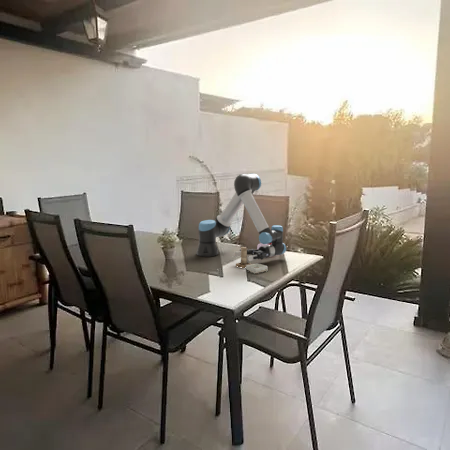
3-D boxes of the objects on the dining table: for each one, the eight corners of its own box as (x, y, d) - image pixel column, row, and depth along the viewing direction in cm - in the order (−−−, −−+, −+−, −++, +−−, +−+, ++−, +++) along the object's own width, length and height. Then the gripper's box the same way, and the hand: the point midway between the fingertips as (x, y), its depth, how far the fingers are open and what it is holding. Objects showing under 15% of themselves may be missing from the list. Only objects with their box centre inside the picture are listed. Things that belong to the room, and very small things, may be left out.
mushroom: (265, 254, 262) (279, 252, 268) (262, 238, 264) (276, 237, 269) (257, 257, 271) (271, 255, 277) (254, 241, 273) (268, 239, 279)
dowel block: (235, 266, 240) (235, 263, 240) (244, 264, 245) (244, 261, 244) (243, 269, 235) (243, 265, 235) (251, 267, 239) (251, 263, 239)
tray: (245, 270, 232) (245, 265, 231) (257, 268, 237) (257, 263, 237) (256, 273, 225) (256, 268, 224) (267, 271, 230) (267, 266, 230)
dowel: (239, 266, 240) (239, 247, 238) (244, 265, 242) (244, 246, 240) (243, 268, 237) (243, 248, 235) (248, 267, 239) (248, 247, 238)
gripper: (280, 260, 241) (255, 266, 228) (253, 253, 260) (228, 258, 247) (280, 249, 240) (255, 254, 227) (253, 242, 259) (228, 247, 246)
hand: (241, 256), depth 237 cm, fingers open, 13 cm apart
